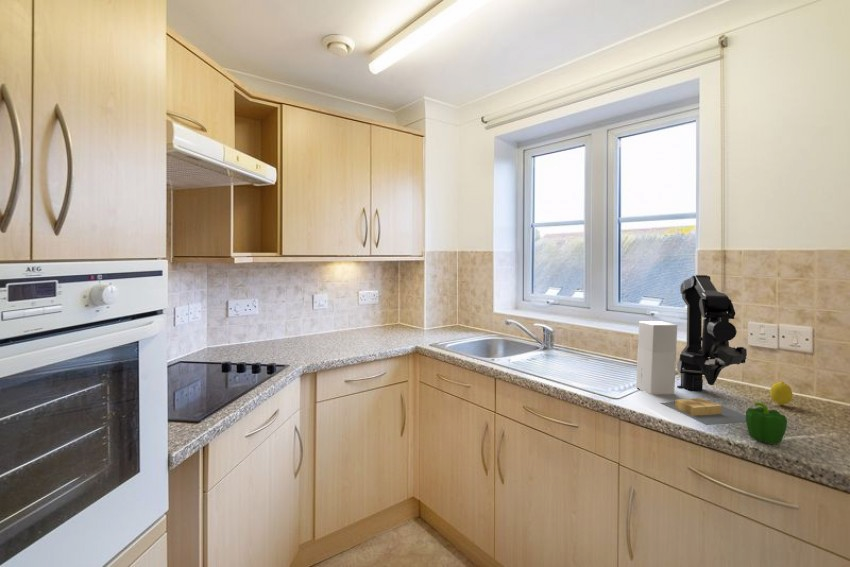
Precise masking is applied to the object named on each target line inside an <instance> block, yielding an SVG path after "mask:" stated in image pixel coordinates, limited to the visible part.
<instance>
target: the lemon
mask: <svg viewBox="0 0 850 567" xmlns="http://www.w3.org/2000/svg"><path fill="white" fill-rule="evenodd" d="M769 395H770V398H771V400H772V401H773V402H775V403H776V404H778V406H780V405H782V406H783V405H787V404H789V403H791V401H793V400H792V399H793V391H792V388H791V386H790V385H788V384H787V383H786V382H784V381H779V382H776V383H773V384H772V386H771V387H770V390H769Z"/></svg>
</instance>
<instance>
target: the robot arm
mask: <svg viewBox="0 0 850 567" xmlns="http://www.w3.org/2000/svg"><path fill="white" fill-rule="evenodd" d="M679 290H680V294H681V299H682V300H683V302H684V303H685V305H686V345H685V347H684V348H683V349H682V350H681V353H680V354H679V358H678V361H677V363H676V365H677V366H676V368H677V369H676V370H677V371H678V373H679V374H680V385H676V388H679V389H681V390H682V389H684V390H686V391H689V392H704V391H705V392H706V389H703V385H704V384H703V382H704V379H703V376H704V378H705V380H706V382H707V384H708V385H710V386H714V385H715V383H716V382H717V379H718V377H719V375H720V373H721V371H722V370H723V369H725V368H726V367H729V366H733V365H737V366H738V365H740V364H745V363H746V360H747V355H748V354H747V353H748V350H747V348H745V347H744V346H737V347H731V346H730V342H729V341H732V340H733V339H734V338H736V336H737V333H738V332H737V328H736V326H735V325H734V324H733V323H731V322H730V320H735V315H736V314H737V313H736V310H735V308H734V304H733V302H732V300H731V299H730V297H729V296H728V295H727V294H726V293H725V292H720V291H718V290H717V288H716V286H715V285H714V284H713V282H712V280H711V276H710V275H707V274H695V275H692V276H691V277H690V278H687V279H685V280H683V281H682V283H681V285H680V289H679ZM702 318H703V319H702Z"/></svg>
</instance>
